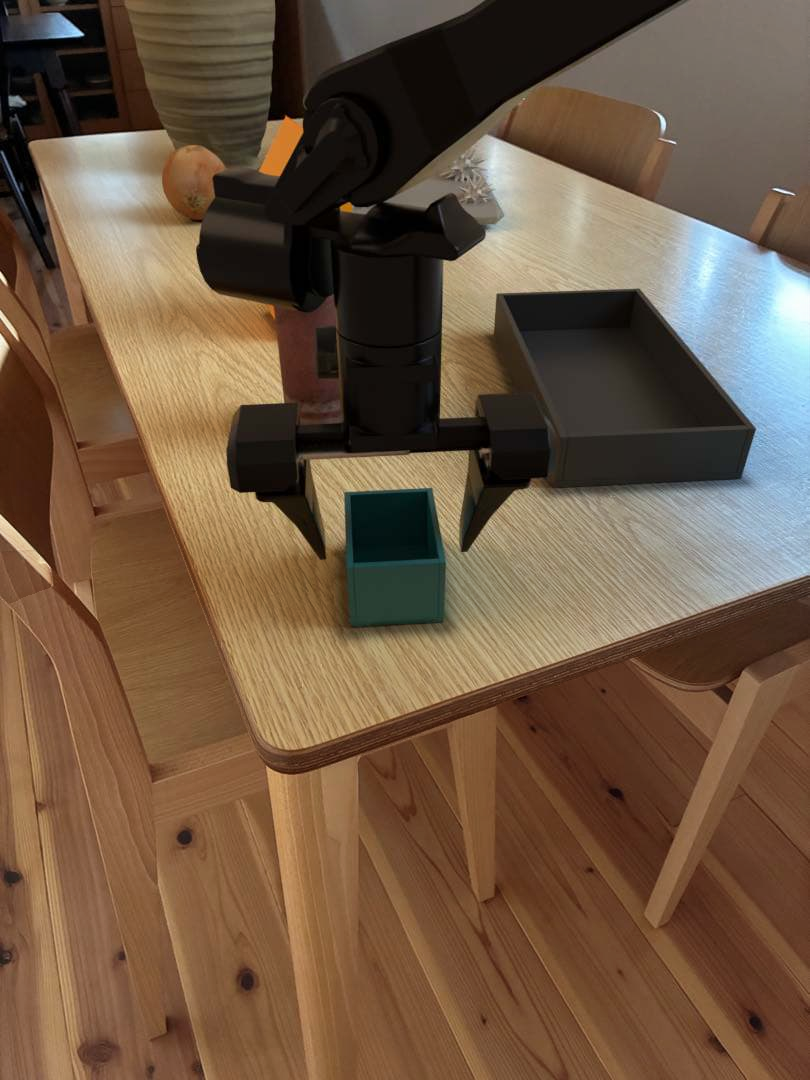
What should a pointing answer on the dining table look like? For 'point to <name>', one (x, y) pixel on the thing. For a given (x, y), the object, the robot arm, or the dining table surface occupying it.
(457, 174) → the decorative tray
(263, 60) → the vase
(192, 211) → the onion
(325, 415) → the soda can
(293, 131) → the orange juice
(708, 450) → the tray
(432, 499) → the teal bin
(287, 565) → the dining table surface
